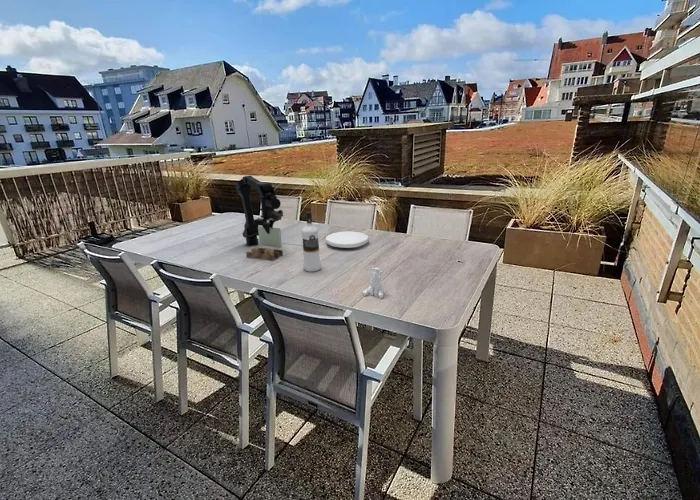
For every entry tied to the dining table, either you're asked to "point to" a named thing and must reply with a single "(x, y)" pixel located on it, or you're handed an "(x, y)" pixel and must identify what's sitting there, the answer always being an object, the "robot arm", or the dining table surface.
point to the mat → (292, 244)
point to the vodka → (310, 246)
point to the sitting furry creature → (374, 284)
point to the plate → (347, 239)
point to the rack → (265, 255)
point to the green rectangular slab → (270, 237)
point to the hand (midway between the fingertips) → (269, 233)
